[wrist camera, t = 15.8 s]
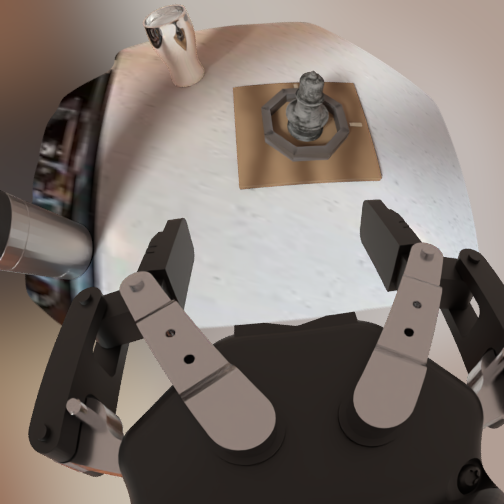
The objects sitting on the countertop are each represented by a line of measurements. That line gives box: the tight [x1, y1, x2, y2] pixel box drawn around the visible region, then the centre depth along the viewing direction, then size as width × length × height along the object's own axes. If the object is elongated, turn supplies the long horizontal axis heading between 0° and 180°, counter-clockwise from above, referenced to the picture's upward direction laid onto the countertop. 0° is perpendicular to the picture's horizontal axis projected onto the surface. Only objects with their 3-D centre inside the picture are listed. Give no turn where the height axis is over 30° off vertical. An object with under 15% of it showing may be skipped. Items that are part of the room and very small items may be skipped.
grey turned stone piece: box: [286, 71, 329, 142], centre depth 32 cm, size 6×6×12 cm
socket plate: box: [233, 82, 382, 189], centre depth 37 cm, size 20×18×3 cm
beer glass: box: [143, 4, 204, 87], centre depth 35 cm, size 7×7×15 cm
